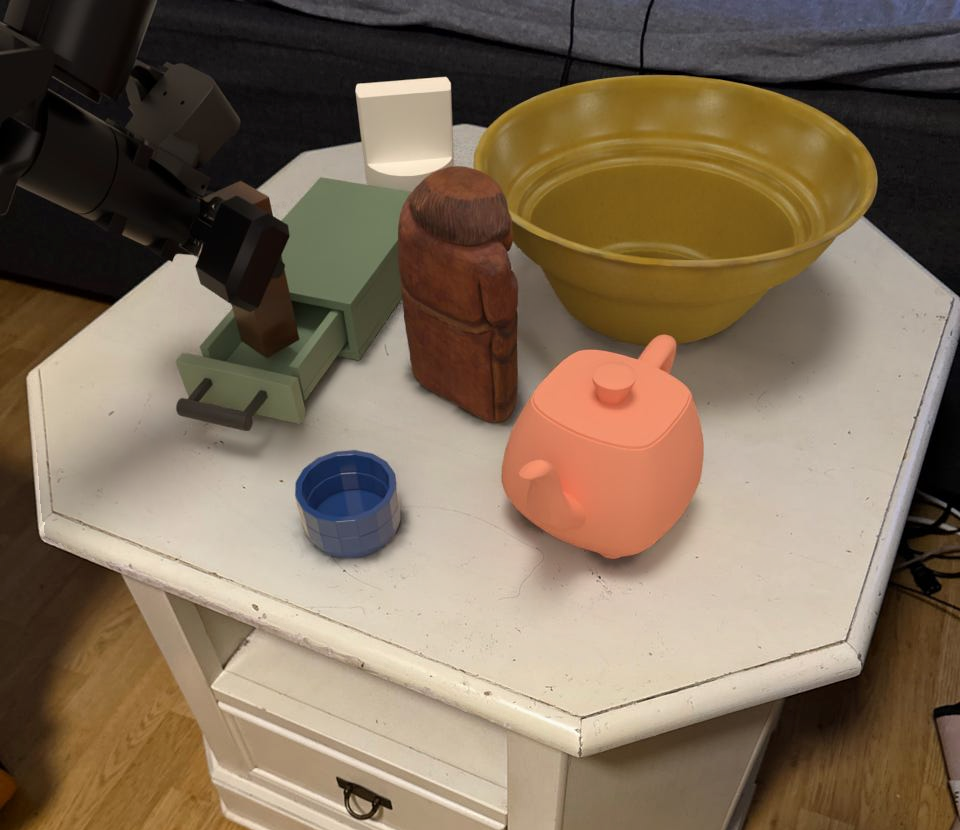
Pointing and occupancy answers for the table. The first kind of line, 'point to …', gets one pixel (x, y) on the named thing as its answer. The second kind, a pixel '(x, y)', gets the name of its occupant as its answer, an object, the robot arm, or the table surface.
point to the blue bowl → (348, 503)
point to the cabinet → (346, 255)
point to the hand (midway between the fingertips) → (266, 261)
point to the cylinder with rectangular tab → (405, 130)
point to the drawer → (259, 371)
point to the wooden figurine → (461, 290)
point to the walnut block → (275, 314)
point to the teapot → (607, 450)
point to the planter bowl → (672, 197)
